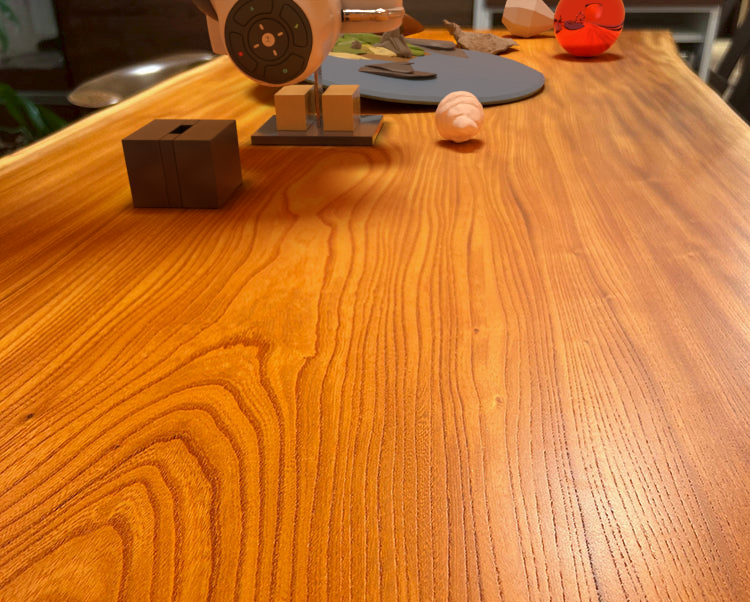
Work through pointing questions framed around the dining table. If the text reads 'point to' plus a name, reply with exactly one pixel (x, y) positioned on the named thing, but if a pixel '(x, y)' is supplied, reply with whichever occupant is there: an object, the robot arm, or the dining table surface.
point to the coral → (478, 40)
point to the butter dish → (300, 118)
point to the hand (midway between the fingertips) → (313, 3)
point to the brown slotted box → (183, 163)
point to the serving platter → (424, 70)
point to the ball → (588, 25)
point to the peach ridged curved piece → (459, 116)
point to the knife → (318, 95)
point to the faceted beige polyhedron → (527, 17)
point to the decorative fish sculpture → (408, 27)
